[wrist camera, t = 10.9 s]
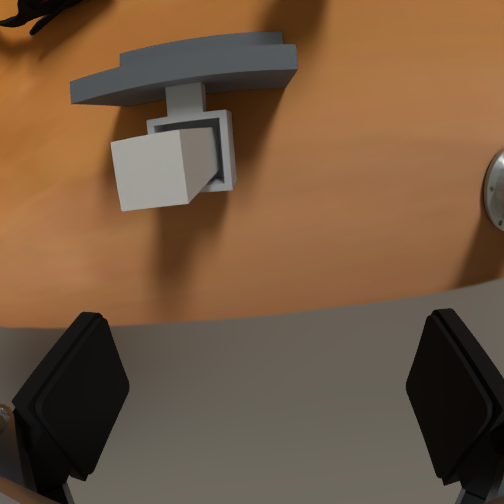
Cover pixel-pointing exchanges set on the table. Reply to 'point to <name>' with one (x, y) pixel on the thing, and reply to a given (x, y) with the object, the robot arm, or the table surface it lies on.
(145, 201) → the rail
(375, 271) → the table surface
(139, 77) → the bracket
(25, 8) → the headset
